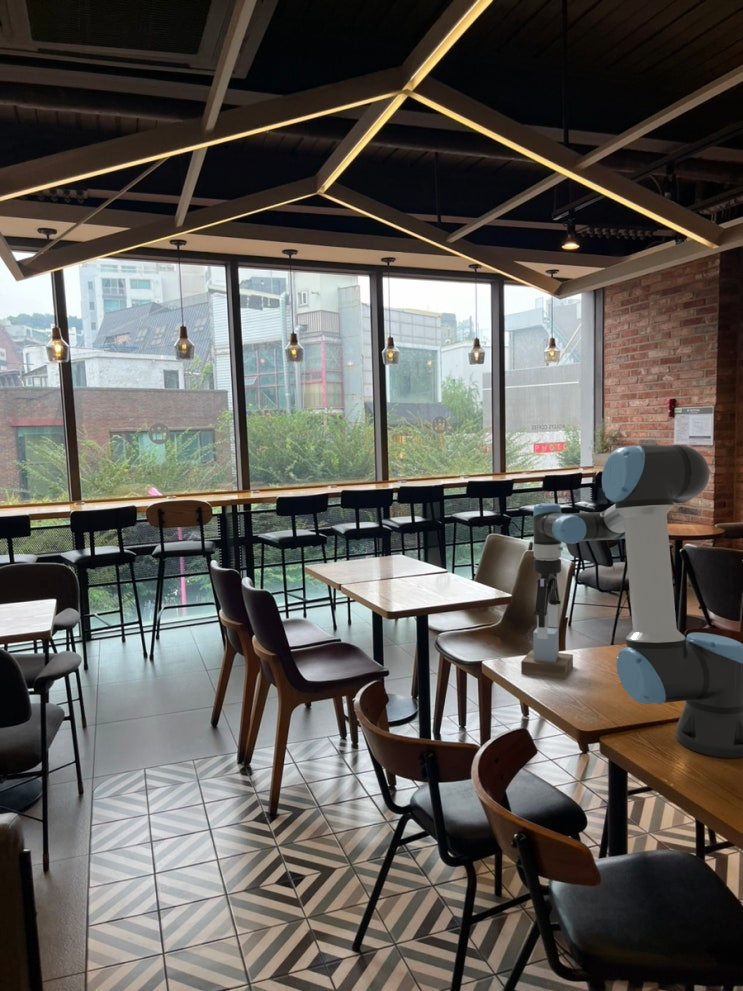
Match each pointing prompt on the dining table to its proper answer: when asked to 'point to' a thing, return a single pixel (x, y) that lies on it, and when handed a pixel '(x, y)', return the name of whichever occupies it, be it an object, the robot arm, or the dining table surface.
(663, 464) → the robot arm
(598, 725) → the dining table surface
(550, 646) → the slate block
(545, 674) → the walnut block
